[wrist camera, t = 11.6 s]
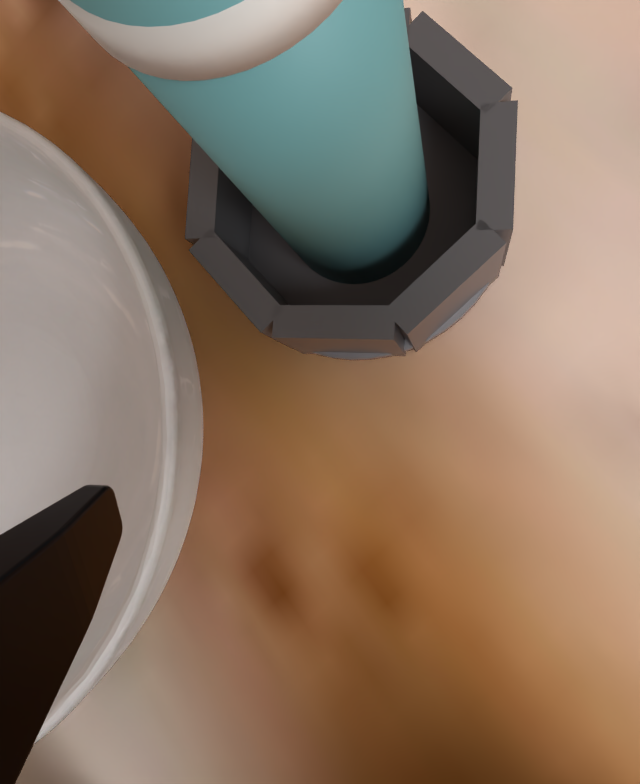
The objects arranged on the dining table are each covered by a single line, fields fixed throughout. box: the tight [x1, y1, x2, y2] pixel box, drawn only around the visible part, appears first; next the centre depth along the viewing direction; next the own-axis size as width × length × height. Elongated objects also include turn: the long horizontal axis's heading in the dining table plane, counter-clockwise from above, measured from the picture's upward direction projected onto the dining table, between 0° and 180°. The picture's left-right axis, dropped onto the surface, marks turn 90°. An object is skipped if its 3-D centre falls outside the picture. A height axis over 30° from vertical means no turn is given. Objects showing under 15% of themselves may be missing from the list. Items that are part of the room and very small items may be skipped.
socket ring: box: [185, 8, 518, 360], centre depth 19 cm, size 10×10×4 cm
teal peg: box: [58, 0, 430, 284], centre depth 14 cm, size 5×5×13 cm
